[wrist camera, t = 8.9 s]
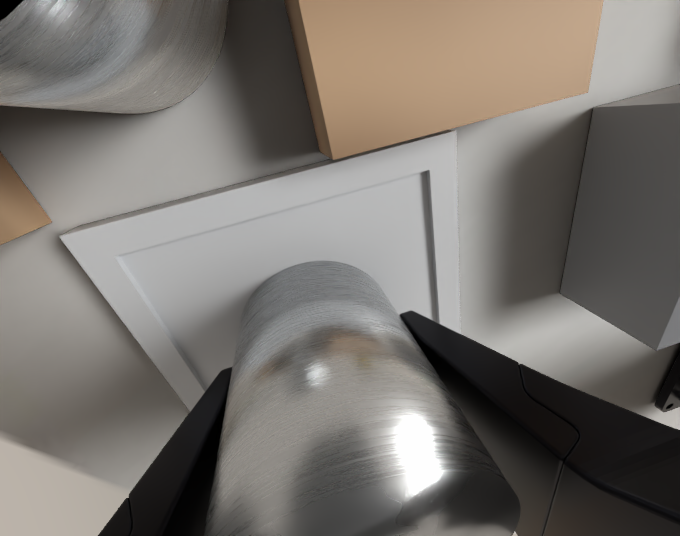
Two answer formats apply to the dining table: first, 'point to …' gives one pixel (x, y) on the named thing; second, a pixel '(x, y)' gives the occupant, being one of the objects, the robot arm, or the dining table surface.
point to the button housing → (630, 219)
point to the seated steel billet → (107, 52)
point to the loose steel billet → (345, 423)
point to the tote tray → (277, 249)
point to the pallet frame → (409, 72)
